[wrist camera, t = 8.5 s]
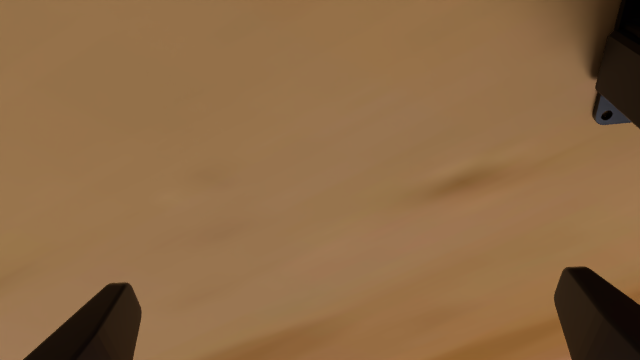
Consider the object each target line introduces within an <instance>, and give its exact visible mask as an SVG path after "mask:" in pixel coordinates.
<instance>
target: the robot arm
mask: <svg viewBox="0 0 640 360" xmlns="http://www.w3.org/2000/svg"><path fill="white" fill-rule="evenodd" d="M595 89H596V90H597V91H598V95H597V98H596V102H595V106H594V110H593V119H594V120H595V121H596V122H597V123H598V124H600V125H609V124H620V123H630V122H632V123H633V124H635V125H636V126H637V127H638V128H639V129H640V0H621V4H620V8H619V12H618V16H617V20H616V24H615V28H614V30H613V31H612V32H611V33H610V35H609V36H608V38H607V42H606V46H605V50H604V54H603V58H602V62H601V66H600V70H599V74H598V78H597V82H596V86H595ZM608 110H609V114H608V115H607V116H605V117H601V115H602V113H604V112H605V111H608ZM554 302H555V306H556V310H557V313H558V316H559V320H560V323H561V326H562V329H563V333H564V336H565V339H566V342H567V346H568V349H569V352H570V355H571V359H572V360H640V305H639V304H637V303H636V302H635V301H633V300H632V299H631V298H629V297H628V296H627V295H625V294H624V293H622V292H621V291H620V290H618V289H617V288H616V287H614V286H613V285H611V284H610V283H609V282H607V281H606V280H605V279H603V278H602V277H600V276H599V275H598V274H596V273H595V272H594V271H592V270H591V269H589V268H587V267H566V268H565V269H564V270H563V271H562V274H561V277H560V279H559V282H558V285H557V288H556V291H555V294H554ZM140 322H141V307H140V304H139V302H138V300H137V297H136V295H135V293H134V290H133V288H132V286H131V285H130V284H129V283H110V284H108V285H106V286H105V287H104V288H103V289H102V290H101V291H100V292H98V293H97V294H96V295H95V296H94V297H93V298H92V299H91V300H89V301H88V302H87V303H86V304H85V305H84V306H83V307H82V308H80V309H79V310H78V311H77V312H76V313H75V314H74V315H73V316H72V317H70V318H69V319H68V320H67V321H66V322H65V323H64V324H63V325H61V326H60V327H59V328H58V329H57V330H56V331H55V332H54V333H52V334H51V335H50V336H49V337H48V338H47V339H46V340H45V341H43V342H42V343H41V344H40V345H39V346H38V347H37V348H36V349H34V350H33V351H32V352H31V353H30V354H29V355H28V356H27V357H26V358H24V359H23V360H133V356H134V351H135V346H136V341H137V336H138V331H139V326H140Z"/></svg>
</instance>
